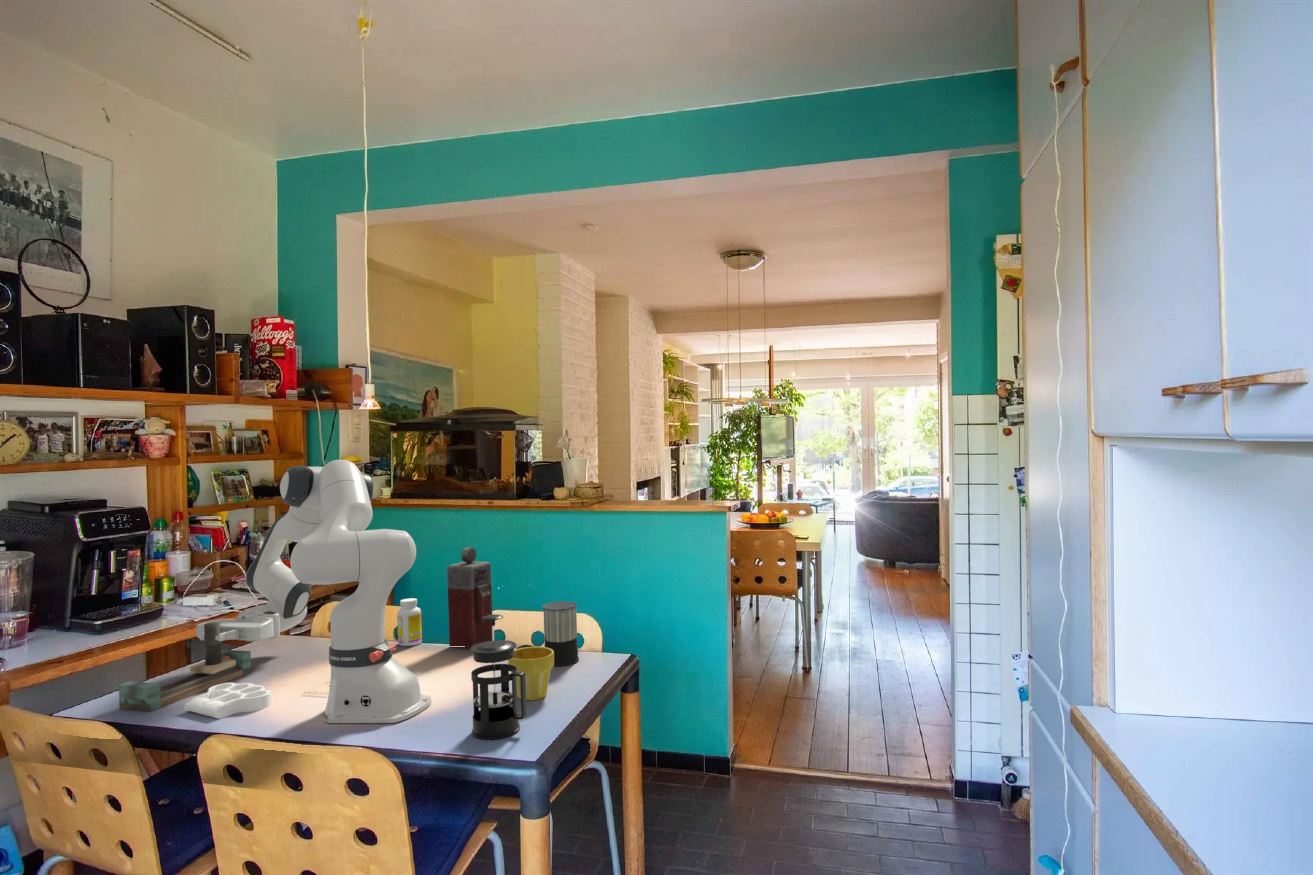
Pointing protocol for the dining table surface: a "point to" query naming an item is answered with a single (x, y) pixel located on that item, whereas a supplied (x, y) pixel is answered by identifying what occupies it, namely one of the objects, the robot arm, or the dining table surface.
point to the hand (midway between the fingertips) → (209, 637)
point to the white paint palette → (230, 700)
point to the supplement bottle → (409, 623)
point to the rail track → (180, 685)
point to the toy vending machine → (469, 601)
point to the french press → (495, 706)
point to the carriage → (212, 653)
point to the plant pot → (533, 670)
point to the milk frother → (560, 632)
